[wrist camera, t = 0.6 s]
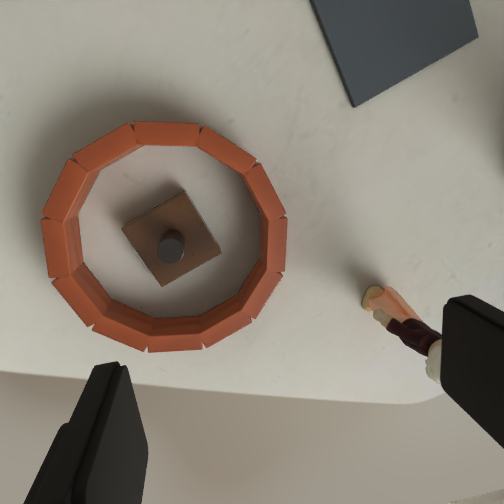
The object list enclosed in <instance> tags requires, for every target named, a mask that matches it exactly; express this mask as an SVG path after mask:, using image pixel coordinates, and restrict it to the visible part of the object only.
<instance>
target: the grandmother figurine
mask: <svg viewBox="0 0 504 504" xmlns="http://www.w3.org/2000/svg"><path fill="white" fill-rule="evenodd" d="M362 307H363V308H364V309H365V310H367V311H373V312H374V313H373V317H374V319H375V320H377V321H379V322H380V323H381V324H382V325H383V326H384V327H385V328H386V330H387V331H389V332H390V333H392V334H395V335H397V336H399V338H400V339H401V340H402V342H403V343H404V344H405V345H406V346H408V347H410V348H412V349H414V350H415V351H417V352H418V353H420V354H422V355H424V356H427V357H428V359H427V360H425V361H426V365H427V366H426V373H427V375H428V377H429V378H430V379H432V380H434V381H435V382H436V383H439V384H441V383H440V365H441V344H442V335H441V334H440V333H438V332H437V331H435V330H433V329H431V328H430V327H429V326H427V325H426V324H425V323H423V321H422V320H421V319H420V318H419V316H418V315H417V314H416V313H415V312H414V310H413V309H412V308H411V307H410V306H409V305H408V304H407V302H406V301H405V300H404V299H403V298H402V297H401V296H400V295H399V294H398V292H397V291H395V290H394V289H393V288H392V287H389V286H386V287H385V289H384V291H383V289H382V288H381V287H379V286H372V287H370V288H369V289H368V290H367V291H366V294H365V297H364V299H363V302H362Z"/></svg>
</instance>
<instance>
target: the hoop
mask: <svg viewBox="0 0 504 504" xmlns="http://www.w3.org/2000/svg"><path fill="white" fill-rule="evenodd" d="M144 145H160V146H196V147H198V148H199V149H201V150H203V151H204V152H206V153H207V154H209V155H211V156H212V157H214V158H216V159H217V160H219V161H220V162H222V163H224V164H225V165H227V166H229V167H230V168H232V169H233V170H235V171H237V172H238V173H239V174H240V176H241V178H242V180H243V182H244V183H245V185H246V187H247V189H248V191H249V193H250V195H251V196H252V198H253V200H254V202H255V204H256V206H257V207H258V209H259V211H260V213H261V227H260V257H259V260H258V261H257V263H256V265H255V266H254V268H253V269H252V271H251V273H250V274H249V276H248V277H247V279H246V281H245V282H244V284H243V285H242V287H241V289H240V290H239V292H238V294H237V295H235V296H234V297H232V298H230V299H228V300H227V301H225V302H223V303H221V304H220V305H218V306H216V307H214V308H212V309H211V310H209V311H207V312H205V313H204V314H202V315H200V316H192V317H170V318H153V317H150V316H148V315H146V314H144V313H142V312H139V311H137V310H135V309H133V308H130V307H128V306H126V305H124V304H122V303H119V302H117V301H115V300H113V299H111V298H110V296H109V295H108V294H107V292H106V291H105V290H104V288H103V287H102V286H101V284H100V283H99V282H98V281H97V279H96V278H95V277H94V275H93V274H92V273H91V271H90V270H89V269H88V267H87V266H86V265H85V264H84V262H83V255H82V246H81V237H80V228H79V219H78V213H79V211H80V209H81V207H82V205H83V203H84V201H85V199H86V198H87V196H88V194H89V192H90V190H91V188H92V186H93V184H94V182H95V180H96V178H97V176H98V174H99V172H100V170H102V169H104V168H105V167H107V166H109V165H111V164H112V163H114V162H116V161H118V160H119V159H121V158H123V157H125V156H126V155H128V154H130V153H132V152H133V151H135V150H137V149H139V148H140V147H142V146H144ZM73 157H74V158H70V159H68V160H67V162H66V164H65V166H64V168H63V170H62V173H61V175H60V177H59V179H58V181H57V183H56V185H55V187H54V189H53V191H52V193H51V195H50V197H49V199H48V201H47V203H46V205H45V207H44V209H43V211H42V215H44V216H46V217H45V218H42V219H41V226H42V233H43V240H44V247H45V254H46V261H47V268H48V275H49V278H55V279H54V280H53V281H52V282H51V283H52V284H53V286H54V287H55V288H56V289H57V290H58V292H59V293H60V294H61V295H62V297H63V298H64V299H65V300H66V301H67V303H68V304H69V305H70V306H71V308H72V309H73V310H74V311H75V312H76V314H77V315H78V316H79V317H80V319H81V320H82V321H83V322H84V323H85V325H86V326H87V327H89V326H91V325H93V324H94V323H95V325H94V326H93V328H92V331H94V332H97V333H99V334H102V335H104V336H106V337H109V338H111V339H113V340H116V341H118V342H121V343H123V344H125V345H128V346H130V347H133V348H135V349H137V350H140V351H142V352H144V351H145V349H146V347H147V345H148V353H152V352H169V351H185V350H202V342H203V344H204V345H205V347H206V348H208V347H210V346H211V345H213V344H215V343H217V342H218V341H220V340H222V339H224V338H225V337H227V336H229V335H231V334H232V333H234V332H236V331H238V330H239V329H241V328H243V327H245V326H247V325H248V324H250V323H252V320H251V317H252V318H254V319H256V317H257V316H258V314H259V313H260V311H261V310H262V308H263V307H264V305H265V303H266V302H267V300H268V299H269V297H270V296H271V294H272V292H273V291H274V289H275V288H276V286H277V285H278V283H279V281H280V280H281V278H282V277H283V275H282V273H281V272H284V271H285V257H286V239H287V220H288V219H287V218H286V217H285V216H284V215H285V214H286V212H285V210H284V208H283V206H282V204H281V202H280V200H279V198H278V196H277V194H276V192H275V190H274V188H273V186H272V184H271V182H270V180H269V178H268V176H267V175H266V173H265V171H264V169H263V167H262V165H261V163H258V162H255V161H256V160H257V159H256V158H255V157H253V156H252V155H250V154H249V153H247V152H246V151H244V150H242V149H241V148H239V147H238V146H236V145H235V144H233V143H232V142H230V141H228V140H227V139H225V138H224V137H222V136H221V135H219V134H217V133H216V132H214V131H213V130H211V129H210V128H208V127H207V126H203V128H202V130H201V132H200V134H199V124H198V123H174V122H148V121H134V125H133V124H131V123H126V124H124V125H123V126H121V127H119V128H117V129H116V130H114V131H112V132H110V133H109V134H107V135H105V136H103V137H102V138H100V139H98V140H97V141H95V142H93V143H91V144H90V145H88V146H86V147H84V148H83V149H81V150H79V151H77V152H76V153H74V154H73Z"/></svg>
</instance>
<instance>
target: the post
mask: <svg viewBox="0 0 504 504" xmlns="http://www.w3.org/2000/svg"><path fill="white" fill-rule="evenodd" d="M122 231H123V232H124V234H125V235H126V236H127V238H128V239H129V241H130V242H131V244H132V245H133V247H134V248H135V249H136V251H137V252H138V254H139V255H140V257H141V258H142V259H143V261H144V262H145V264H146V265H147V267H148V268H149V269H150V271H151V272H152V274H153V275H154V277H155V278H156V279H157V281H158V282H159V284H160V285H161V287H163V286H165V285H166V284H168V283H170V282H172V281H173V280H175V279H177V278H179V277H180V276H182V275H184V274H186V273H187V272H189V271H191V270H193V269H194V268H196V267H198V266H200V265H201V264H203V263H205V262H207V261H208V260H210V259H212V258H214V257H215V256H217V255H219V254H221V249H220V247H219V245H218V243H217V242H216V240H215V238H214V237H213V235H212V234H211V232H210V230H209V229H208V227H207V225H206V224H205V222H204V220H203V219H202V217H201V215H200V214H199V212H198V210H197V209H196V207H195V205H194V204H193V202H192V200H191V199H190V197H189V195H188V194H187V192H186V191H183V192H182V193H180V194H178V195H176V196H175V197H173V198H171V199H169V200H168V201H166V202H164V203H162V204H161V205H159V206H157V207H155V208H154V209H152V210H150V211H148V212H147V213H145V214H143V215H141V216H140V217H138V218H136V219H134V220H133V221H131V222H129V223H128V224H126V225H124V227H123V228H122Z"/></svg>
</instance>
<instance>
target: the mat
mask: <svg viewBox="0 0 504 504" xmlns="http://www.w3.org/2000/svg"><path fill="white" fill-rule="evenodd" d="M310 1H311V3H312V6H313V8H314V11H315V13H316V16H317V18H318V21H319V23H320V26H321V28H322V31H323V33H324V36H325V38H326V41H327V43H328V46H329V48H330V51H331V53H332V56H333V58H334V61H335V63H336V66H337V68H338V71H339V73H340V76H341V78H342V81H343V83H344V86H345V88H346V91H347V93H348V96H349V98H350V101H351V103H352V106H353V108H354V107H357V106H359V105H360V104H362V103H364V102H366V101H367V100H369V99H371V98H373V97H374V96H376V95H378V94H380V93H381V92H383V91H385V90H387V89H388V88H390V87H392V86H394V85H395V84H397V83H399V82H401V81H402V80H404V79H406V78H408V77H409V76H411V75H413V74H415V73H416V72H418V71H420V70H422V69H423V68H425V67H427V66H429V65H430V64H432V63H434V62H436V61H437V60H439V59H441V58H443V57H444V56H446V55H448V54H450V53H451V52H453V51H455V50H457V49H458V48H460V47H462V46H464V45H465V44H467V43H469V42H471V41H472V40H474V39H476V38H478V33H477V29H476V25H475V21H474V17H473V14H472V10H471V6H470V2H469V0H310Z"/></svg>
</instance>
